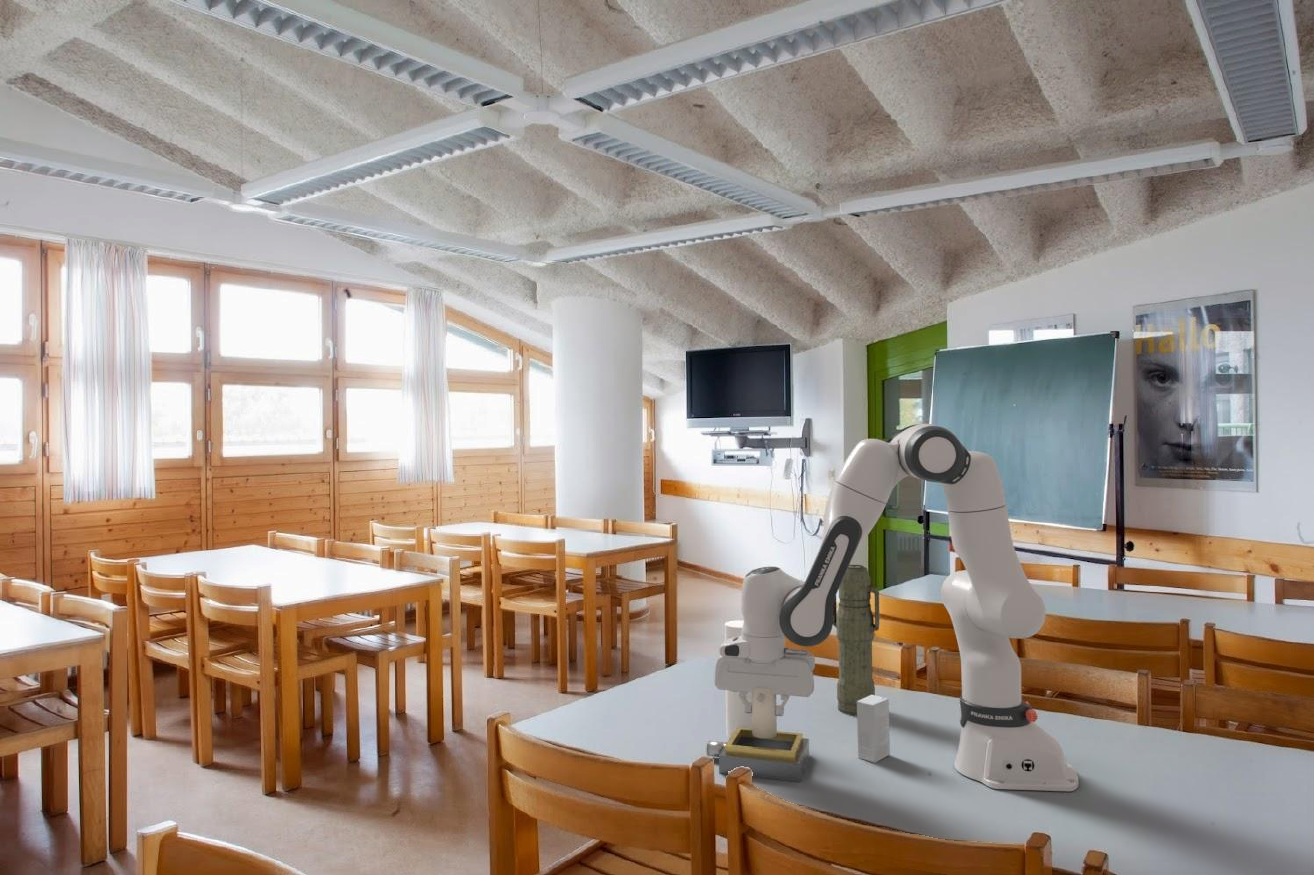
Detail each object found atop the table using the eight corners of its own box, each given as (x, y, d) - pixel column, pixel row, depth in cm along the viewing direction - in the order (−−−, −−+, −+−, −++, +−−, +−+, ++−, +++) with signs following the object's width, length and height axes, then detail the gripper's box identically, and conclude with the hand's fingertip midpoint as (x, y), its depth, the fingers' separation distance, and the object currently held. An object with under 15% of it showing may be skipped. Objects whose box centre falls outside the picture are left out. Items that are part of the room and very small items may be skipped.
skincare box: (872, 749, 180) (871, 693, 180) (890, 755, 177) (889, 698, 177) (856, 758, 176) (856, 700, 176) (874, 763, 173) (874, 705, 173)
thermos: (835, 701, 213) (834, 562, 212) (883, 707, 208) (882, 564, 207) (827, 712, 205) (825, 567, 204) (876, 718, 200) (874, 570, 199)
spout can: (778, 731, 175) (778, 682, 175) (772, 742, 169) (772, 692, 169) (754, 728, 177) (754, 680, 177) (748, 740, 170) (747, 690, 170)
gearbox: (809, 755, 178) (808, 731, 178) (799, 782, 165) (798, 756, 165) (716, 745, 184) (716, 722, 184) (699, 770, 171) (699, 746, 171)
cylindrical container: (756, 741, 186) (755, 628, 186) (724, 739, 188) (722, 627, 187) (759, 730, 193) (757, 620, 193) (728, 728, 195) (726, 619, 194)
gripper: (816, 646, 173) (817, 713, 173) (719, 639, 180) (719, 704, 180) (812, 654, 167) (813, 723, 167) (711, 647, 174) (712, 714, 174)
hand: (764, 713), depth 174 cm, fingers closed on spout can, 5 cm apart
